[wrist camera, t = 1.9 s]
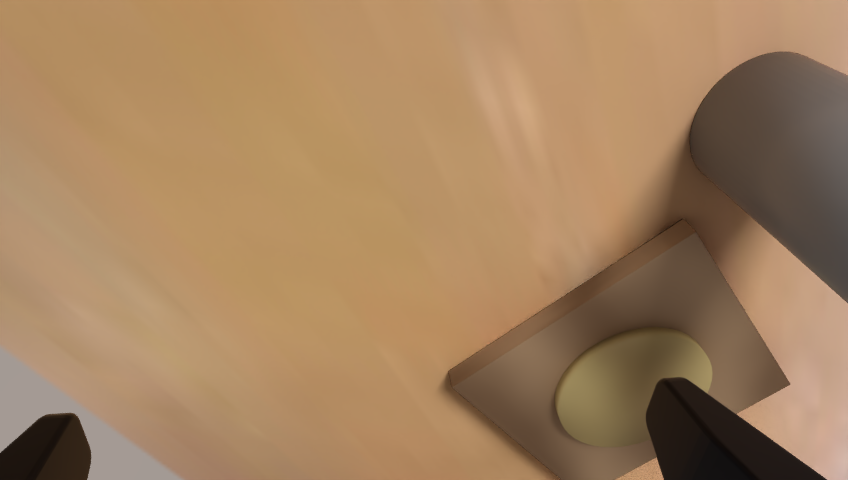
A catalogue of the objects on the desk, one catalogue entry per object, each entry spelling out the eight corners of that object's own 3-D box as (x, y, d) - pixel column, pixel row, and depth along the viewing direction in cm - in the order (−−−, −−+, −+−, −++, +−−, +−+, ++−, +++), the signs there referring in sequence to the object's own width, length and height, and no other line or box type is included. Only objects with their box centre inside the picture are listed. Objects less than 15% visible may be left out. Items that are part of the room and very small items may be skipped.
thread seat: (576, 481, 34) (586, 507, 32) (448, 371, 28) (454, 398, 26) (778, 369, 30) (798, 393, 29) (683, 218, 24) (703, 240, 23)
